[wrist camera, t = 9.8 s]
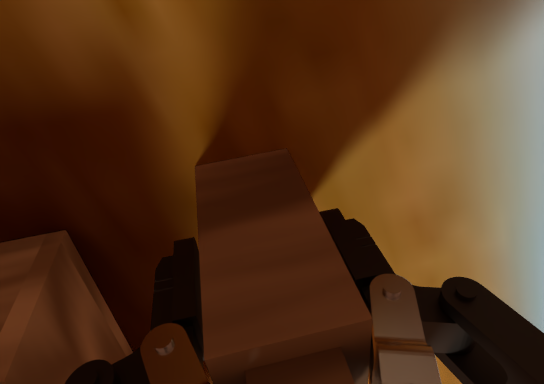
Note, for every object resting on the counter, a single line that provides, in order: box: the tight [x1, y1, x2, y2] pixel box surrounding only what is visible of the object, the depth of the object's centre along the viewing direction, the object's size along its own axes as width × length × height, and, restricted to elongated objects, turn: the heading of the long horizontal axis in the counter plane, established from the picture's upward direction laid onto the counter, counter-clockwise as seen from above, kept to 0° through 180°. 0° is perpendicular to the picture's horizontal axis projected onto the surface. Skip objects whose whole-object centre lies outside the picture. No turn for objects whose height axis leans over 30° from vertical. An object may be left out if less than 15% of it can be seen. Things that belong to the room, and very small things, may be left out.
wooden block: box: [195, 148, 373, 384], centre depth 13 cm, size 4×4×10 cm
